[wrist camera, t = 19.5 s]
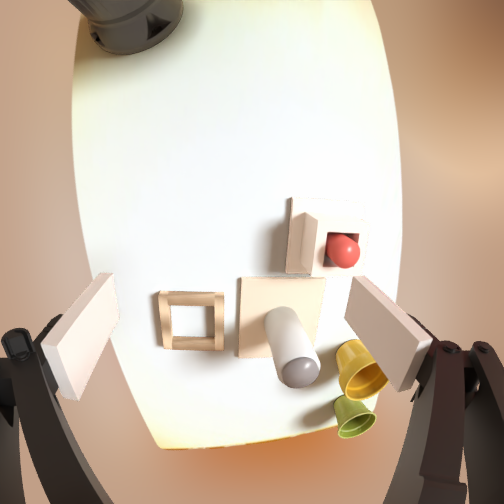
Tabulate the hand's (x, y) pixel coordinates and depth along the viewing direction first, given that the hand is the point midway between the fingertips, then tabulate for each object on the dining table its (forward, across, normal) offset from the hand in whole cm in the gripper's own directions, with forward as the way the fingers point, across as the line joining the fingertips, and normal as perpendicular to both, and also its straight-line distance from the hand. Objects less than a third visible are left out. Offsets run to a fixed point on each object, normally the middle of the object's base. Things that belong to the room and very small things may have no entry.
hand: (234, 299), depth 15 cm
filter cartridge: (+28, +10, -19) cm, 35 cm away
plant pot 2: (+29, +29, -44) cm, 60 cm away
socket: (+29, -5, -19) cm, 35 cm away
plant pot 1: (+29, +26, -28) cm, 48 cm away
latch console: (+29, +16, -4) cm, 33 cm away
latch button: (+25, +16, -4) cm, 30 cm away
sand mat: (+29, +10, -19) cm, 36 cm away
